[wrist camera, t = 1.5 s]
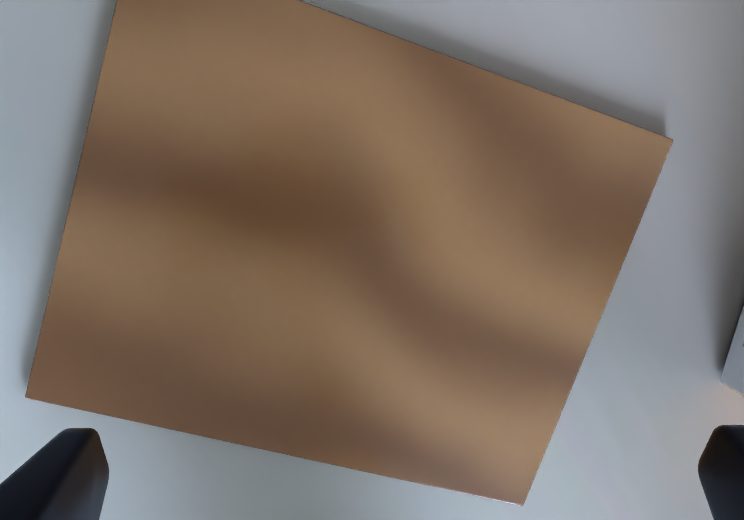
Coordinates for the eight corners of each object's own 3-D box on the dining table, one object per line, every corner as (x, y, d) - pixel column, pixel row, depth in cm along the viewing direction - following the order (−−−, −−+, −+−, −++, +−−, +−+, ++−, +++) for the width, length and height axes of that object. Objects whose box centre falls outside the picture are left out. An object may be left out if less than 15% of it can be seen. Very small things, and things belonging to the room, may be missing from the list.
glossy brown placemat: (519, 500, 26) (523, 506, 26) (28, 393, 22) (24, 398, 22) (667, 139, 23) (674, 139, 23) (134, -59, 19) (130, -63, 19)
